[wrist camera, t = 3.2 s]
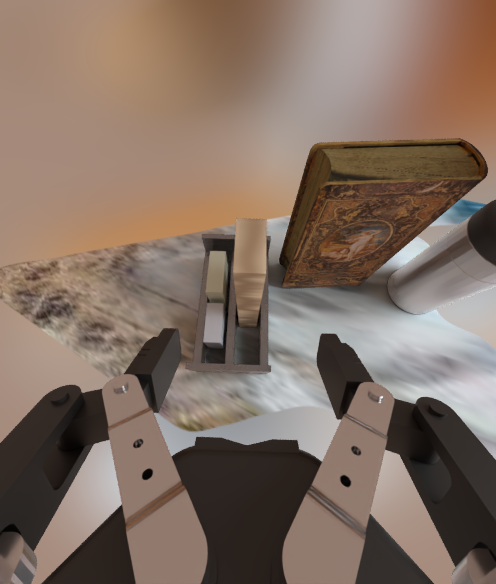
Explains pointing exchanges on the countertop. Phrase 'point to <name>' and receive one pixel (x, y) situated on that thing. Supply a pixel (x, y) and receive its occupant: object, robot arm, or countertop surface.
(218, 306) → the pale grey block
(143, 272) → the countertop surface
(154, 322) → the countertop surface
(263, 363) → the rack
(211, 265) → the sage offcut
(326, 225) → the book
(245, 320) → the birch board
